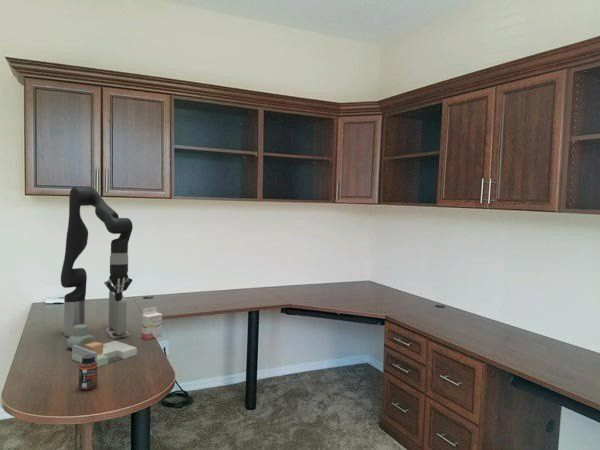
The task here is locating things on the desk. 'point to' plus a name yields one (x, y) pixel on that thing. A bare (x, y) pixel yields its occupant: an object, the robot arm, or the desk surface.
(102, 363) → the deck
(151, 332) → the ink cartridge box
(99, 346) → the block
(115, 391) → the desk surface
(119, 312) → the network device
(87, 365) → the supplement bottle
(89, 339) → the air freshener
